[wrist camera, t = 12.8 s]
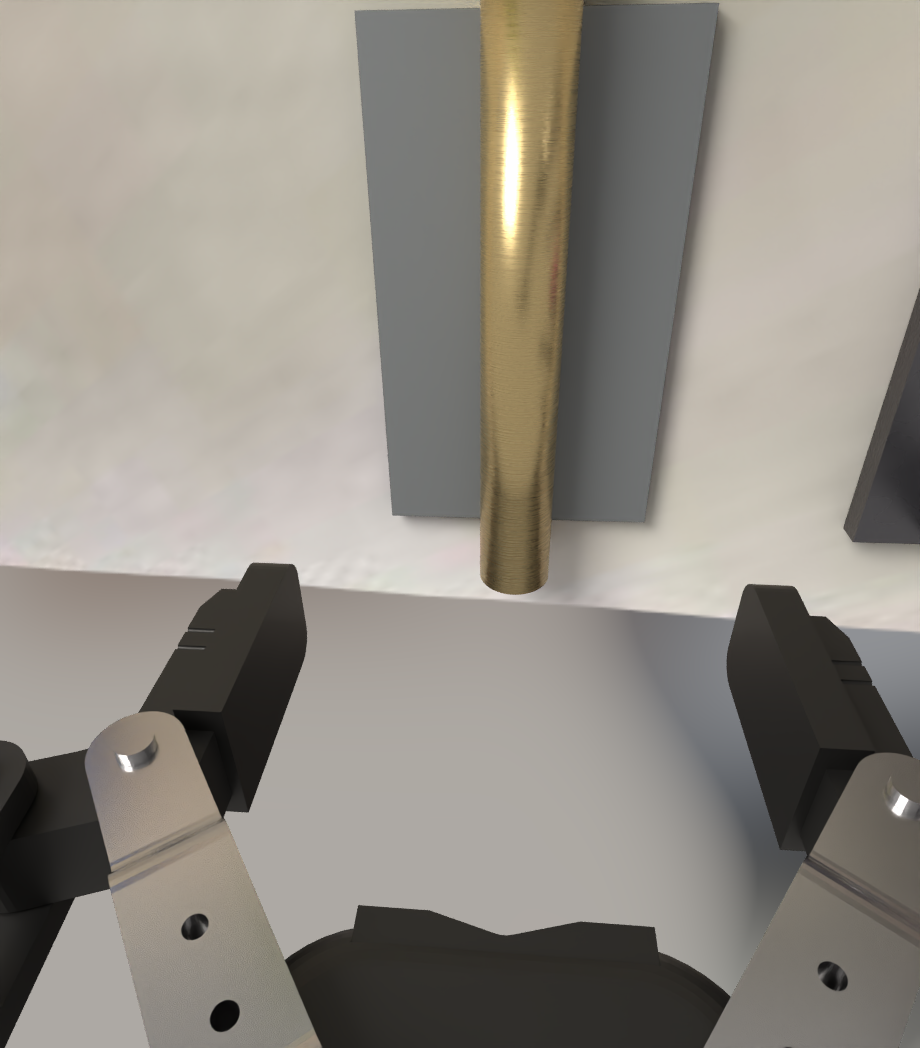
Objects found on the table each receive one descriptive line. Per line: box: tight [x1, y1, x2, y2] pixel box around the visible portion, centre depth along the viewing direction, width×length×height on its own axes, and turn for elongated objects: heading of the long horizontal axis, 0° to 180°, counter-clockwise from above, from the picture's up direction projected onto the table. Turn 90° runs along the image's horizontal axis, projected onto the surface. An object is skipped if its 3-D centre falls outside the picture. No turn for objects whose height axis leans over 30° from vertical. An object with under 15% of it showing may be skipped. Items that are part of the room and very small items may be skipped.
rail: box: [480, 0, 584, 595], centre depth 28 cm, size 24×3×3 cm, turn 1°
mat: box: [355, 3, 719, 522], centre depth 30 cm, size 20×12×1 cm, turn 1°
